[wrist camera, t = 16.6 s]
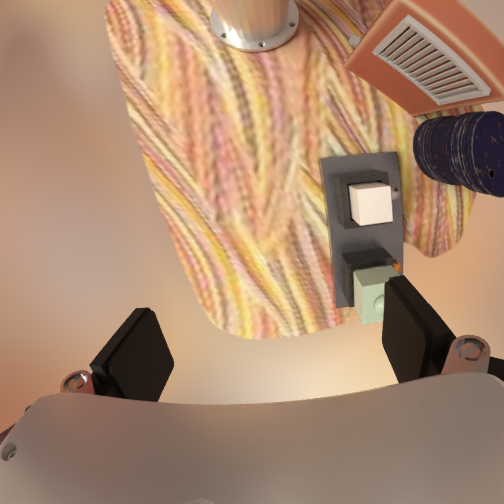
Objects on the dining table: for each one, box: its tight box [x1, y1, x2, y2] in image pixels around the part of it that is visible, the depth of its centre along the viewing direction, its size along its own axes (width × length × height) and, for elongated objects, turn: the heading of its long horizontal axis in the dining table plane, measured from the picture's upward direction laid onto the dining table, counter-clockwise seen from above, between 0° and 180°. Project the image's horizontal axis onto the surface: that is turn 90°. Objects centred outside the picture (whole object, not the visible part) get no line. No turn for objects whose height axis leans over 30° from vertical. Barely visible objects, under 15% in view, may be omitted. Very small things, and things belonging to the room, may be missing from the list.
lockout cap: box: [353, 265, 400, 325], centre depth 32 cm, size 5×5×6 cm
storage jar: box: [413, 111, 504, 198], centre depth 27 cm, size 10×10×15 cm
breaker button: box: [347, 182, 393, 226], centre depth 31 cm, size 4×4×5 cm
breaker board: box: [318, 152, 403, 308], centre depth 36 cm, size 22×11×6 cm, turn 10°
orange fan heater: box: [344, 0, 504, 116], centre depth 21 cm, size 21×7×15 cm
